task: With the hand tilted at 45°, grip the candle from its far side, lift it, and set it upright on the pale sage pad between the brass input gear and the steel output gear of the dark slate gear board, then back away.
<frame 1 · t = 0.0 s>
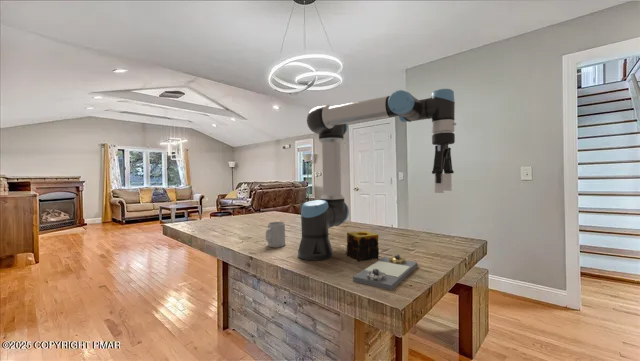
hand: (443, 191, 100), 28 cm above the table, fingers open, 13 cm apart
mug: (274, 246, 136), on the table
candle: (362, 257, 115), on the table
gear board: (387, 273, 96), on the table
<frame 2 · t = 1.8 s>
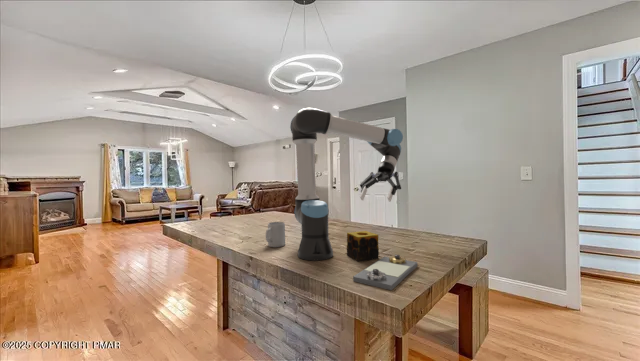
hand: (374, 199, 125), 23 cm above the table, fingers open, 13 cm apart
nothing on the table moved.
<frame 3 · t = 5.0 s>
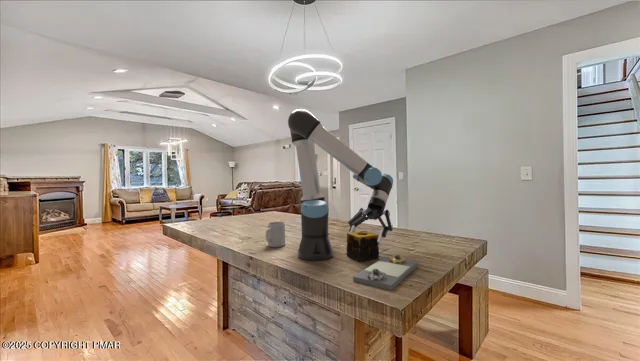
hand: (363, 241, 115), 7 cm above the table, fingers open, 13 cm apart
candle: (362, 257, 115), on the table, touching gripper
everything else where it was.
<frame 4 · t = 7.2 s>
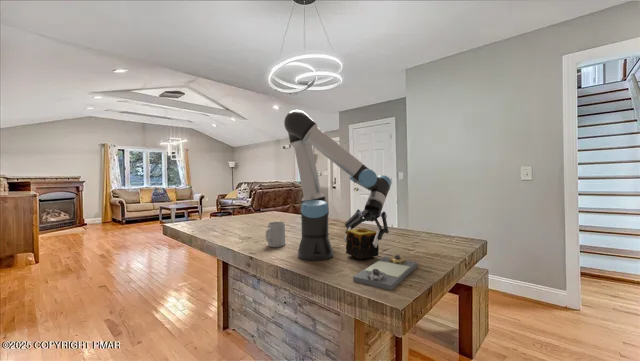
hand: (359, 243, 113), 6 cm above the table, fingers closed on candle, 13 cm apart
candle: (361, 255, 115), point 1 cm above the table, touching gripper
everything else where it was.
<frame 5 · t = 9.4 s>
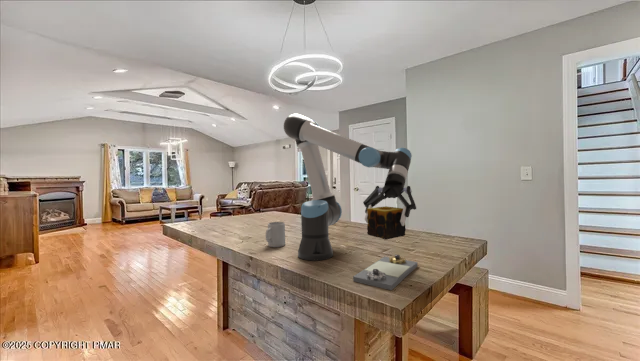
hand: (383, 222, 98), 17 cm above the table, fingers closed on candle, 13 cm apart
candle: (386, 236, 100), point 12 cm above the table, touching gripper
everything else where it was.
when the fingers open (8 cm above the table, at t = 12.7 s): candle drops 1 cm, resting on gear board.
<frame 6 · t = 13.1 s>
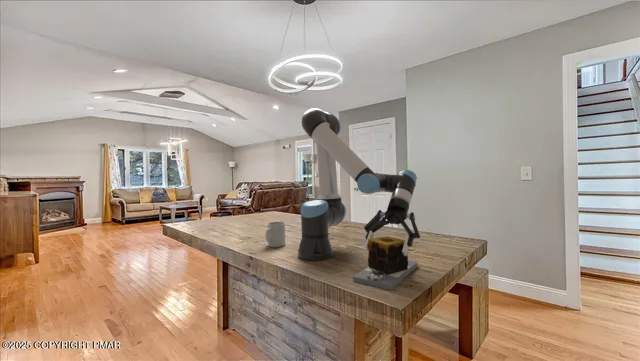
hand: (384, 250, 94), 8 cm above the table, fingers open, 13 cm apart
candle: (387, 268, 96), point 1 cm above the table, touching gear board
everything else where it was.
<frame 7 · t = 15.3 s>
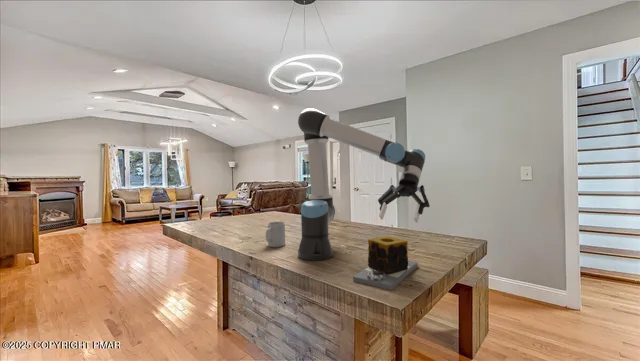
hand: (397, 218, 104), 18 cm above the table, fingers open, 13 cm apart
nothing on the table moved.
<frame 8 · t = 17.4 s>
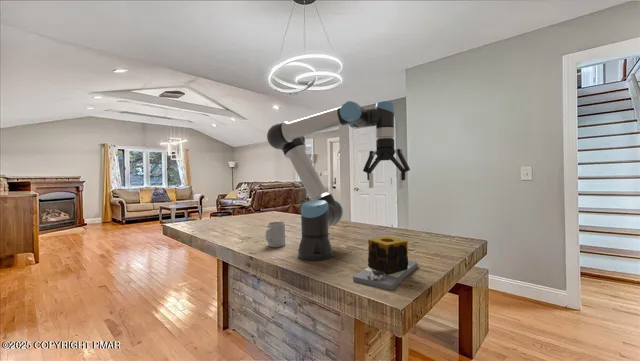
hand: (385, 188, 118), 29 cm above the table, fingers open, 13 cm apart
nothing on the table moved.
at the end: candle 0.1 cm off-centre on the gear board, point 1.5 cm above the gear board's base; candle tilted 0°; the gripper is holding nothing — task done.
